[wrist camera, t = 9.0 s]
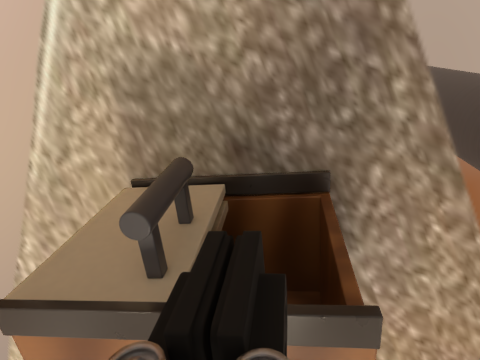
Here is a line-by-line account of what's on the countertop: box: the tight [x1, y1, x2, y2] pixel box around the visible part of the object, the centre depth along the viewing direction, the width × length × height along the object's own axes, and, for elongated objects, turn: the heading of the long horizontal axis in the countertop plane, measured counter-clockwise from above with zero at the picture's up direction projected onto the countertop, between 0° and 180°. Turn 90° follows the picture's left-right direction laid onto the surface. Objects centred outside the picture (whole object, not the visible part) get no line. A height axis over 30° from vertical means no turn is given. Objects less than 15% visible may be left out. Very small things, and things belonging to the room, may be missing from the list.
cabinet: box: [0, 171, 383, 360], centre depth 21 cm, size 16×12×14 cm
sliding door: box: [4, 157, 226, 302], centre depth 19 cm, size 8×5×13 cm, turn 96°
